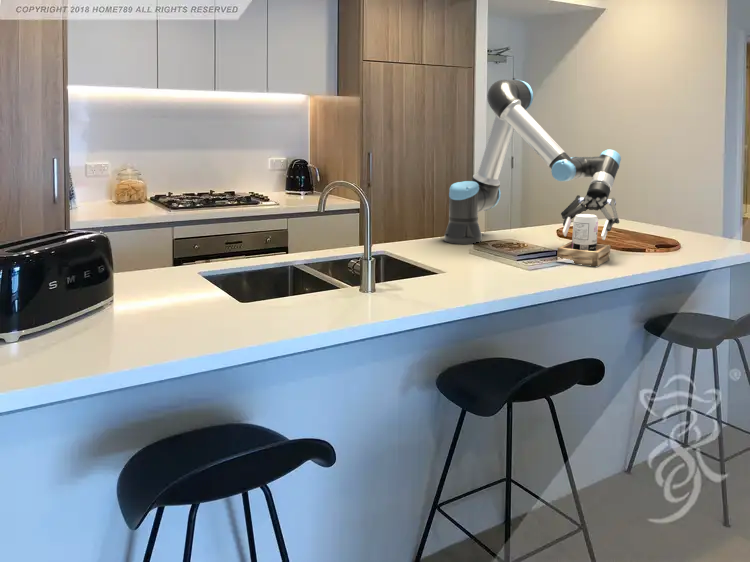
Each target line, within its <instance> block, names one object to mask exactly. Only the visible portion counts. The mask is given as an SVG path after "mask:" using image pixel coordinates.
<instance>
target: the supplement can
mask: <svg viewBox="0 0 750 562" xmlns="http://www.w3.org/2000/svg"><path fill="white" fill-rule="evenodd" d="M572 220H573V221H572V222H573V224H572V240H571V242H572V249H576V250H586V251H597V250H596V246H597V244H598V231H599V230H598V228H599V219H598V216H597V215H595V214H592V213H591V214H590V213H580V214H577V215H576V216H575V217H574V219H572ZM573 258H580V259H589V260H591V259H593V258H590V257H581V256H573Z"/></svg>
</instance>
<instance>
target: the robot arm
mask: <svg viewBox="0 0 750 562" xmlns="http://www.w3.org/2000/svg"><path fill="white" fill-rule="evenodd" d="M486 100H487V102H488V105H489V107H490V108H491V110H492V111H493V112H494V113H493V114H494V115H495V117H494V120H493V124H492V128H491V130H490V133H489V137H488V139H487V143H486V146H485V149H484V152H483V156H482V158H481V162H480V166H479V169H478V172H477V173H474V174H473V175H472V178H471V180H464V181H457V182H454V183H452V184H451V185H450V187H449V190H448V191H449V193H448V197H449V199H448V203H449V204H448V224H447V227H446V230H445V232H444V240H443V241H444V242H445V243H449V244H457V245H470V244H471V245H472V244H473V243H474V244H477V243H476V242H479V243H481V242H483V234H482V231H481V228H480V224H479V212H484V211H488V210H491V209H492V208H494V207H496V206H497V205H498V204H499V201H500V199H501V195H502V194H501V190H500V185H501V181H500V179H499V177H500V173H501V171H502V168H503V165H504V161H505V159H506V156H507V152H508V150H509V147H510V143H511V142H512V141H511V140H512V138H513V134H514V132H516V133H517V134H518V135H519V136H520V137H521V138H522V140H524V142H526V144H527V145H528V146H529V147H530V148H531V149H532V150H533V152H535V153H536V155H538V156H539V157H540V159H541V160H542V161H543V162H544V163H545V164H546V165H547V166H548V167H549V169H551V171H550V172H551V175H552V177H553V178H554V180H556V181H557V182H569V181H572V180H577V179H582V178H591V180H590V184H589V186H588V189H587V192H586V195H585V196H584V197H581V196H580V195H578V194H577V195H576V196H575V198H574V200H572V202H571V203H570V204H569V205H568V206H567V207H566V208H564V209H563V211H561V213H560V216H561V218H562V219H563V223H562V226H563V229H562V234H563V236H564V237H567V235H568V233H569V229H570V227H571V225H572V220H573V218H575V216H576V215H577V214H583V212H586V211H588V210H589V211H601V213H602V214H603V215H604V216H605V219H606V220H605V223H604V226H603V229H602V231H601V233H600V234H601V235H600V237H601V240H602V241H605V240H606V237H607V235H608V232H611V231H612V228H613V225H614V224H617V225H618V224H619V223H620V219H619V215H618V212H617V211H618V210H617V208H616V205H617V202H616V198H615V197H611V199H610V198H609V197H610V194H611V190H612V187H613V185H614V182H615V179H616V177H617V173H618V170H619V169H620V165H621V160H622V156H621V154H620V153H619V152H617V150H614V149H606V150H603V151H602V152H601V153H600V155H599V156H572V157H570V155H568V154H567V152H566V151H565V150H564V149H563V148H562V147H561V146H560V145H559V144H558V143H557V142H556V141H555V140H554V139H553V137H552V136H550V134H549V133H548V132H547V130H545V129H544V128H543V127H542V125H540V124H539V123H538V122H537V121H536V120H535V118H533V116H532V115H531V114H530V113H529V112H528V111H527V110H528V109H529V108H530V107H531V105H532V104H533V102H534V101H533V100H534V92H533V90H532V87H531V85H530V84H529V83H528V82H526V81H523V80H521V79H499V80H496V81H495V82H494V83H493V84H491V86H490V87H489V88H488V90H487V99H486ZM606 205H609V206H610V207H611V211H612V213H613V217H612V215H611V214H610V213H609V211H608V210H607V208H606ZM480 241H481V242H480ZM474 244H473V245H474Z"/></svg>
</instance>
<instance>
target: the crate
mask: <svg viewBox="0 0 750 562" xmlns="http://www.w3.org/2000/svg"><path fill="white" fill-rule="evenodd" d="M556 251H557V254H556V255H557V256H556V258H557V257H560V258H566V259H570V260H573V261H574V263H575V264H574V265H576V264H582V265H581V266H584V265H591V266H590V267H592V266H598V265H599V266H601V265H602V264H604V263H606V262H608V261H609V260H610V255H611V245H609V244H602V243H601V244H599V243H597V246H596V251H586V250H576V249H572V241H570V242H567V243H565V244H564V245H561V246H559V247H557V250H556ZM573 256H581V257H590V258H593V259H591V260H589V259H580V258H573ZM600 264H601V265H600ZM599 266H598V267H599Z"/></svg>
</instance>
